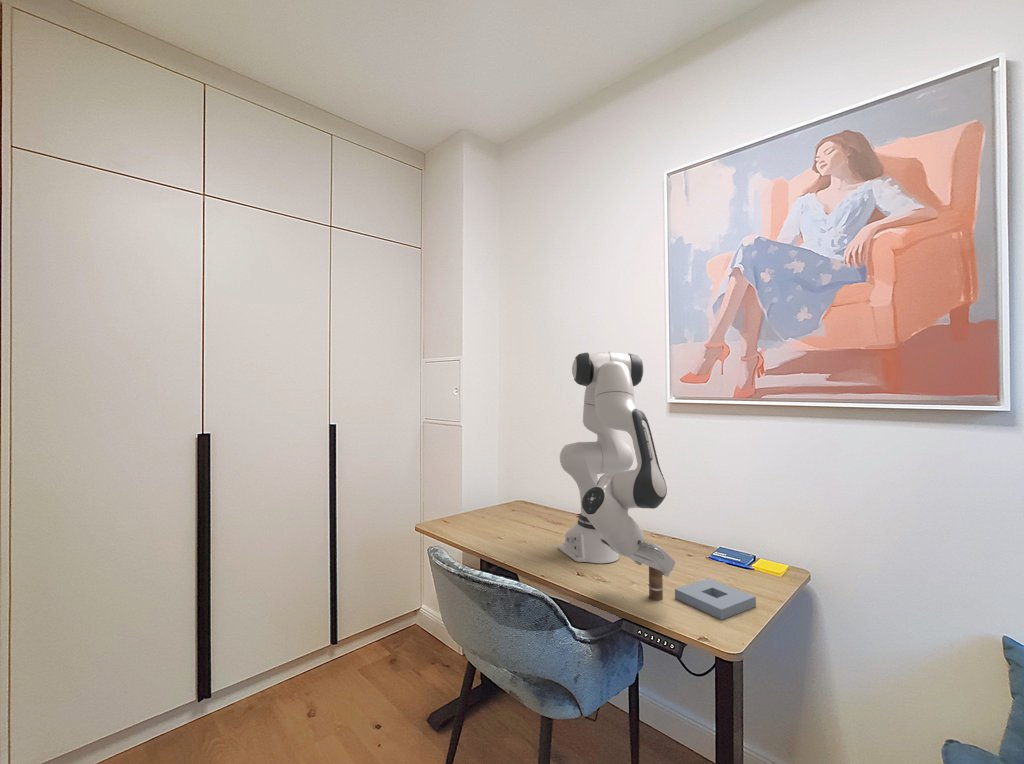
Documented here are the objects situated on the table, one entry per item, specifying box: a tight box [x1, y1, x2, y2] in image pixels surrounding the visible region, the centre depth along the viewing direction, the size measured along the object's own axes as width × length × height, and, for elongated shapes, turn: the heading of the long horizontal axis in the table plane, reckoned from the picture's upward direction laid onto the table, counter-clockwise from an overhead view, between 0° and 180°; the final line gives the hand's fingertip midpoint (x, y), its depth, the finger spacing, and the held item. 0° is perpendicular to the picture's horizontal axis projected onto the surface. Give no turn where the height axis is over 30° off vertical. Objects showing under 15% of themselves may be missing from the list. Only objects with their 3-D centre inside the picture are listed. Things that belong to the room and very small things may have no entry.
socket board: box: [674, 578, 757, 621], centre depth 122 cm, size 14×14×2 cm
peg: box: [648, 566, 664, 601], centre depth 125 cm, size 4×4×12 cm
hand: (653, 567), depth 125 cm, fingers open, 8 cm apart
